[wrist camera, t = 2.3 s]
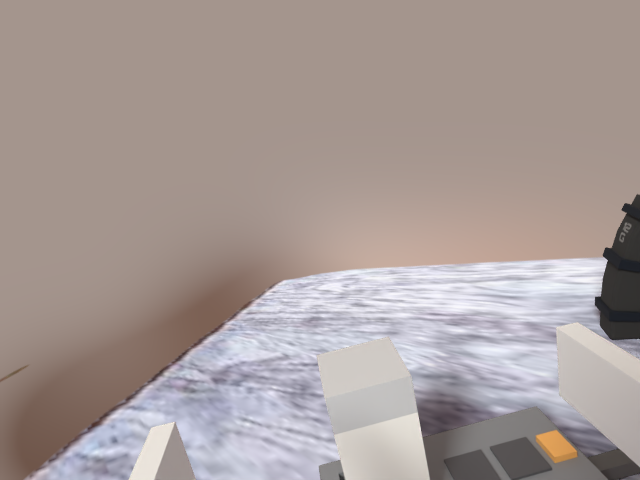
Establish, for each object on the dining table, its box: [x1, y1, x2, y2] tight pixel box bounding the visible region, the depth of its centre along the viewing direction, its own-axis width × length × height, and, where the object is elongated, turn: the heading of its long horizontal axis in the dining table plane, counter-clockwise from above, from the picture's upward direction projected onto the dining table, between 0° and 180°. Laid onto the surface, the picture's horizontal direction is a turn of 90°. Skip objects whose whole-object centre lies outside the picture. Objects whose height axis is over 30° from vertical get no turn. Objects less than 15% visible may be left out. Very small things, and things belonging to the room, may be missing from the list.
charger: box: [317, 337, 430, 480], centre depth 25 cm, size 5×4×12 cm
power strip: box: [319, 406, 640, 480], centre depth 27 cm, size 30×8×4 cm, turn 97°
